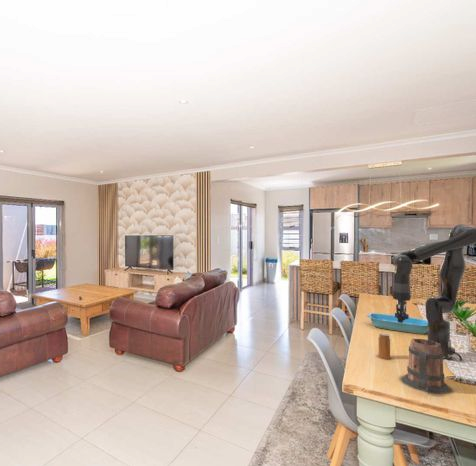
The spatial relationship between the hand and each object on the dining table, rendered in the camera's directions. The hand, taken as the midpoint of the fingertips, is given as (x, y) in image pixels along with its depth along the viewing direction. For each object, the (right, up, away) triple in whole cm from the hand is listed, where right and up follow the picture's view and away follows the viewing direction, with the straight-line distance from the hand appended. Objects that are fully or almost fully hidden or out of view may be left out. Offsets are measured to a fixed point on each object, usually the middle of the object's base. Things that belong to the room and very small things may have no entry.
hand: (401, 321), depth 183 cm
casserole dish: (+43, -20, +54) cm, 71 cm away
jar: (-7, -21, +3) cm, 22 cm away
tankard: (-15, -22, -31) cm, 41 cm away
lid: (0, +4, 0) cm, 4 cm away
